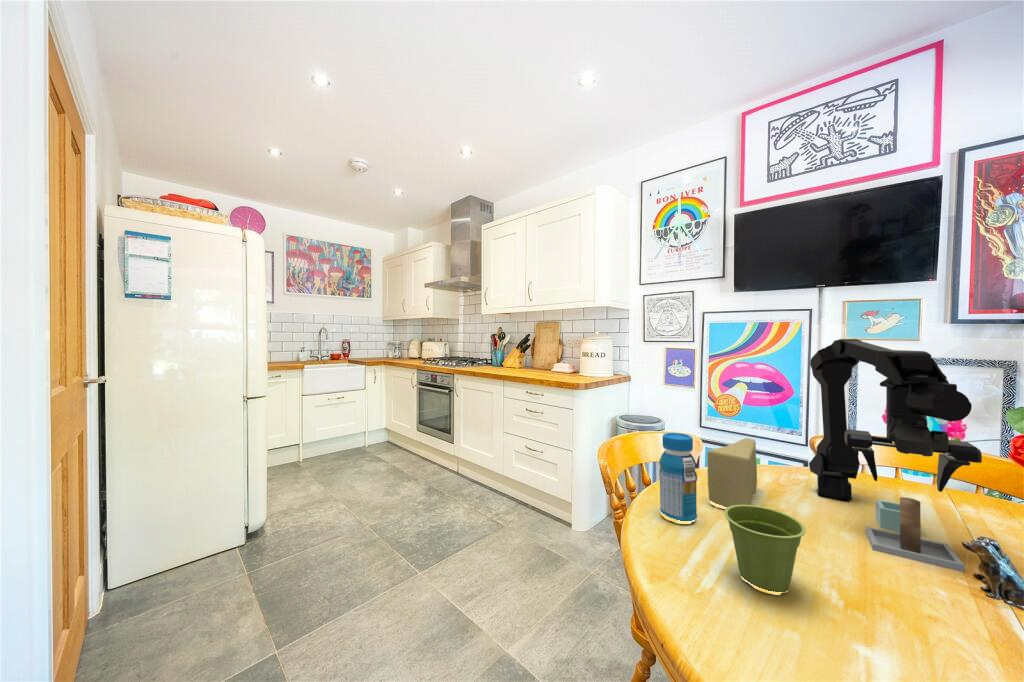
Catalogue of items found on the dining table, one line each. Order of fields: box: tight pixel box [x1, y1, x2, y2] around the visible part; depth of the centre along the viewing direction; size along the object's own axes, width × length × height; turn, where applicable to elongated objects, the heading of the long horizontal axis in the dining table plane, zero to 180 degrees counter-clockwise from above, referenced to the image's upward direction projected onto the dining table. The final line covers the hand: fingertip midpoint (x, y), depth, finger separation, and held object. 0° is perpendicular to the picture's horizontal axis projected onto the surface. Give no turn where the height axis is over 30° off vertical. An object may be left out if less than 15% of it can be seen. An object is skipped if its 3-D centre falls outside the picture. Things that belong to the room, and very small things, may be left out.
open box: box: [875, 498, 900, 533], centre depth 83 cm, size 6×6×5 cm
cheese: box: [707, 438, 758, 508], centre depth 100 cm, size 22×10×15 cm, turn 132°
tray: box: [865, 526, 966, 573], centre depth 73 cm, size 12×9×2 cm
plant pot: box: [723, 504, 807, 592], centre depth 64 cm, size 12×12×11 cm
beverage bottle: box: [658, 432, 698, 521], centre depth 89 cm, size 8×8×20 cm
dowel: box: [899, 496, 922, 553], centre depth 74 cm, size 3×3×10 cm
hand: (906, 485), depth 76 cm, fingers open, 9 cm apart
